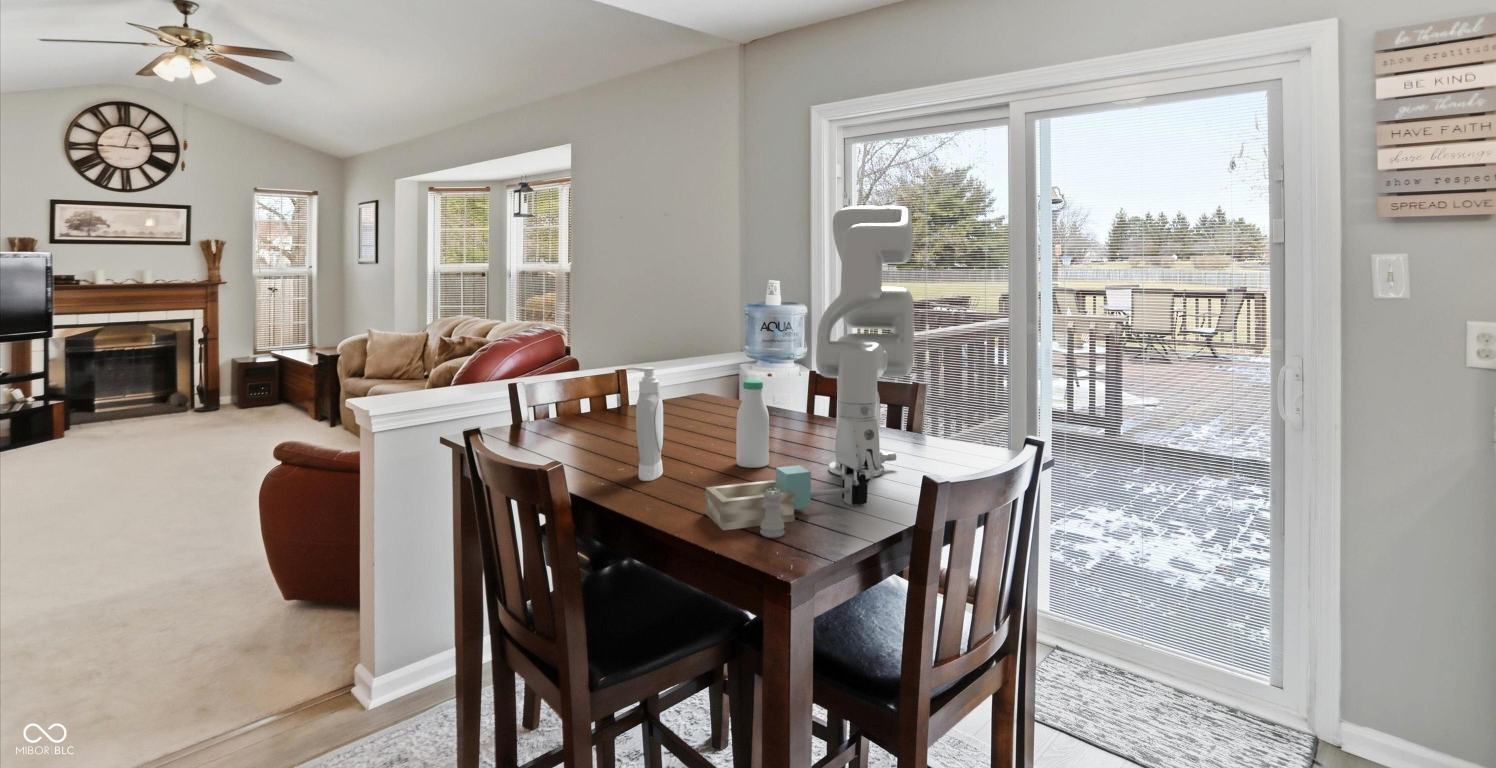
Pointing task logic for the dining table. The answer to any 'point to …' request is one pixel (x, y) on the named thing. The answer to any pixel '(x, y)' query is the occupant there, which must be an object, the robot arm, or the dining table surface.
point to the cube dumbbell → (807, 485)
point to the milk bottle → (752, 427)
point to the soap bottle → (649, 425)
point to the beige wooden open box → (744, 504)
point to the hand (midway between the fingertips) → (854, 500)
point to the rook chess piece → (772, 515)
